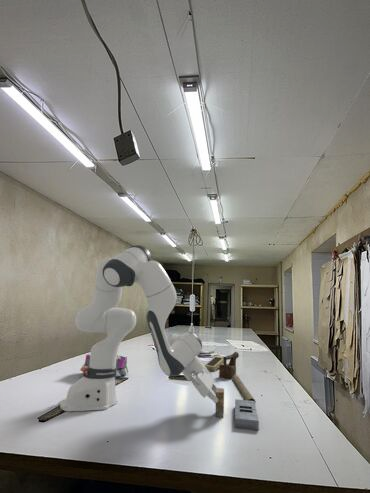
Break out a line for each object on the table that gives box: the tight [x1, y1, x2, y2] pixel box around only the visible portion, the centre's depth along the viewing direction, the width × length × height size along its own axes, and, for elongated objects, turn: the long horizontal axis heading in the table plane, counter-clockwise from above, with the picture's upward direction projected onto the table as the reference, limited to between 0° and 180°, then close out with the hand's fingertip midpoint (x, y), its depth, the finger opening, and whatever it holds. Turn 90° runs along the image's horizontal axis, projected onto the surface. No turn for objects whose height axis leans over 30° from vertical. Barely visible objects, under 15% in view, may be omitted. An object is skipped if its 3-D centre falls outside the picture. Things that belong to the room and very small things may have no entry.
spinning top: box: [79, 354, 129, 377], centre depth 170 cm, size 27×28×15 cm
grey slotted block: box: [234, 399, 260, 431], centre depth 115 cm, size 8×22×3 cm, turn 171°
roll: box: [232, 374, 256, 404], centre depth 151 cm, size 4×43×3 cm, turn 0°
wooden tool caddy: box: [218, 351, 240, 380], centre depth 181 cm, size 8×16×13 cm, turn 143°
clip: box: [214, 387, 225, 419], centre depth 117 cm, size 3×6×9 cm, turn 171°
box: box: [204, 356, 224, 373], centre depth 199 cm, size 8×22×5 cm, turn 154°
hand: (218, 397), depth 117 cm, fingers open, 8 cm apart
